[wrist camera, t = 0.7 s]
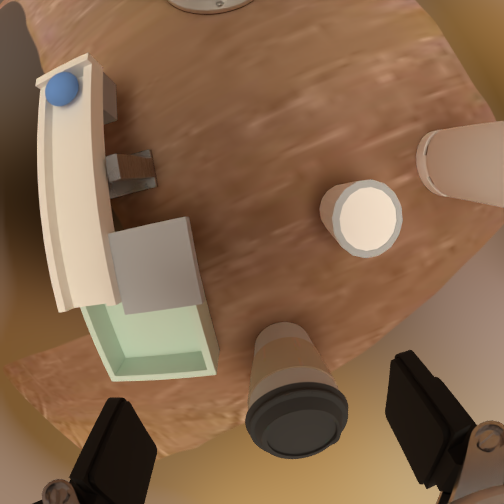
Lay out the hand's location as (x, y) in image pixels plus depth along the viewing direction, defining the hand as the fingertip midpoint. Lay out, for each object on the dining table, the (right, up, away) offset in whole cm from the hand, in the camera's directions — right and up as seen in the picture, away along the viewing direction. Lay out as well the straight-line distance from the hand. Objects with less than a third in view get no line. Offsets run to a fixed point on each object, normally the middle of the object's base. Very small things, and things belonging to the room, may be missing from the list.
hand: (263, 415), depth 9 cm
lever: (-11, +12, +14) cm, 22 cm away
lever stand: (-15, +14, +20) cm, 28 cm away
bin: (-12, 0, +24) cm, 27 cm away
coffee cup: (+3, -6, +26) cm, 27 cm away
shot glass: (+9, +10, +22) cm, 26 cm away
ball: (-16, +19, +8) cm, 26 cm away
